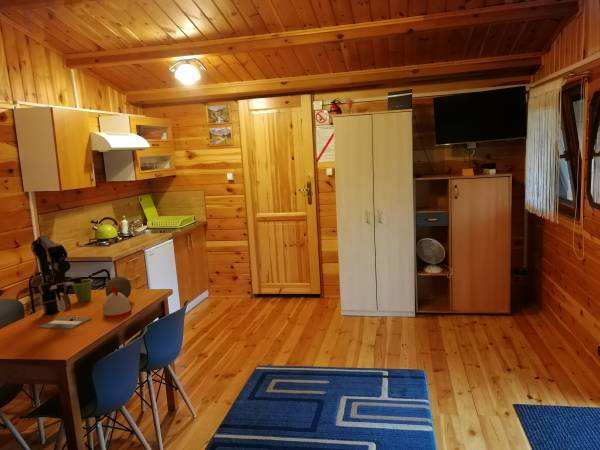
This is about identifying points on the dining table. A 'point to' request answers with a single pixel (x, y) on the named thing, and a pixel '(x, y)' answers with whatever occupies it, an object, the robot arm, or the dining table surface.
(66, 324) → the mat
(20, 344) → the dining table surface
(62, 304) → the tin
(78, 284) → the plant pot
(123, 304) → the kitchen timer
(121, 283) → the cantaloupe
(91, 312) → the dining table surface
